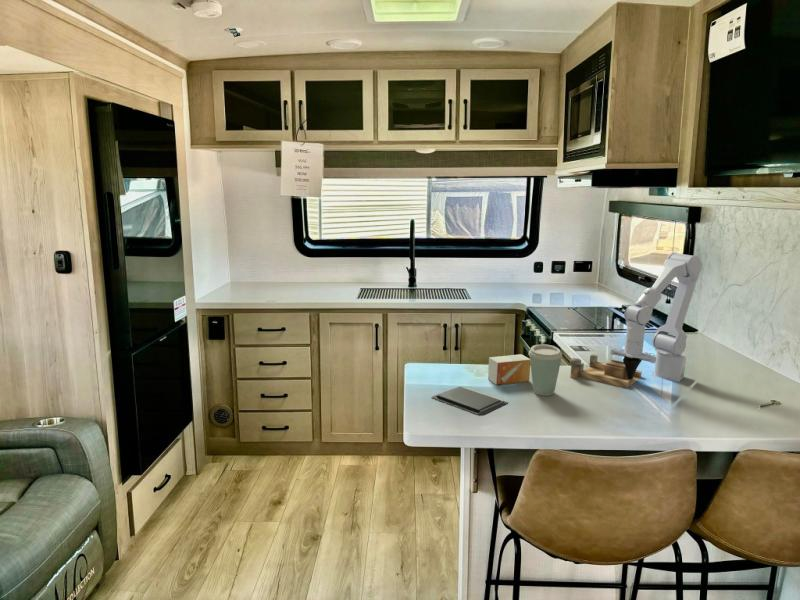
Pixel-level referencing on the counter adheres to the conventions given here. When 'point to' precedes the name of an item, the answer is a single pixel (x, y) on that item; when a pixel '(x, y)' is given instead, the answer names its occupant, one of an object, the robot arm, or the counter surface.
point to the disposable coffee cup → (544, 368)
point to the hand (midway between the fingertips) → (630, 378)
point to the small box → (509, 369)
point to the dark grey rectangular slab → (470, 401)
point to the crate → (616, 369)
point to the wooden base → (599, 372)
